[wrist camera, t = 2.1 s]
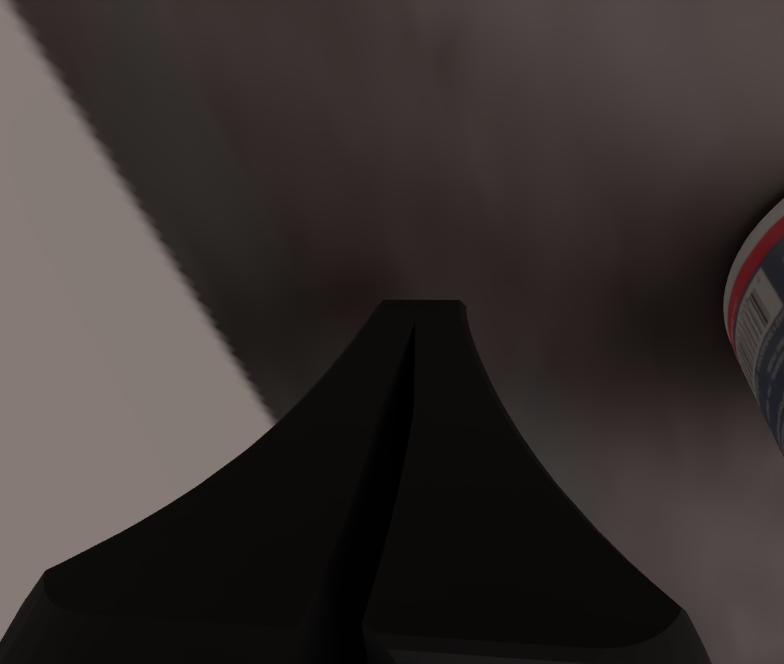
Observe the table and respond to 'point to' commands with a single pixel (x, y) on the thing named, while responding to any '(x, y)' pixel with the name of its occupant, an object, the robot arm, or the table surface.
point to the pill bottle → (760, 316)
